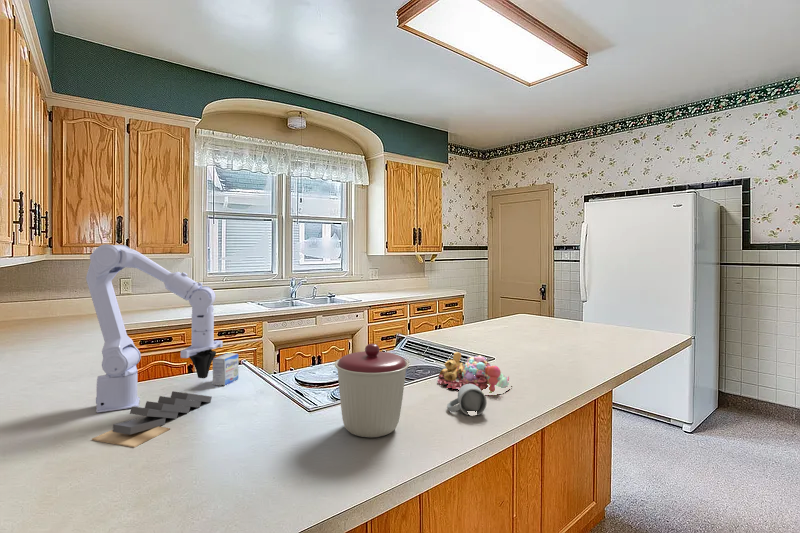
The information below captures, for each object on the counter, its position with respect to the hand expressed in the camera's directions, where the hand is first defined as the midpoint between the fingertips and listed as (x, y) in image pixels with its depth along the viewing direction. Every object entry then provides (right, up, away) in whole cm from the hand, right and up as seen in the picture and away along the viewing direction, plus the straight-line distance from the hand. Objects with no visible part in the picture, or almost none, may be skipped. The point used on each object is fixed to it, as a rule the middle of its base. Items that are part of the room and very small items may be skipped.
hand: (202, 377), depth 123 cm
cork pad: (-6, -8, -22) cm, 24 cm away
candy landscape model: (+81, -8, +23) cm, 85 cm away
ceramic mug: (+74, -9, -3) cm, 75 cm away
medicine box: (-1, -7, +19) cm, 20 cm away
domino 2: (-3, -7, -11) cm, 14 cm away
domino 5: (0, -6, +1) cm, 6 cm away
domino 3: (-2, -6, -8) cm, 10 cm away
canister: (+49, -9, -16) cm, 52 cm away
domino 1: (-4, -7, -15) cm, 17 cm away
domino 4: (-1, -6, -4) cm, 7 cm away
